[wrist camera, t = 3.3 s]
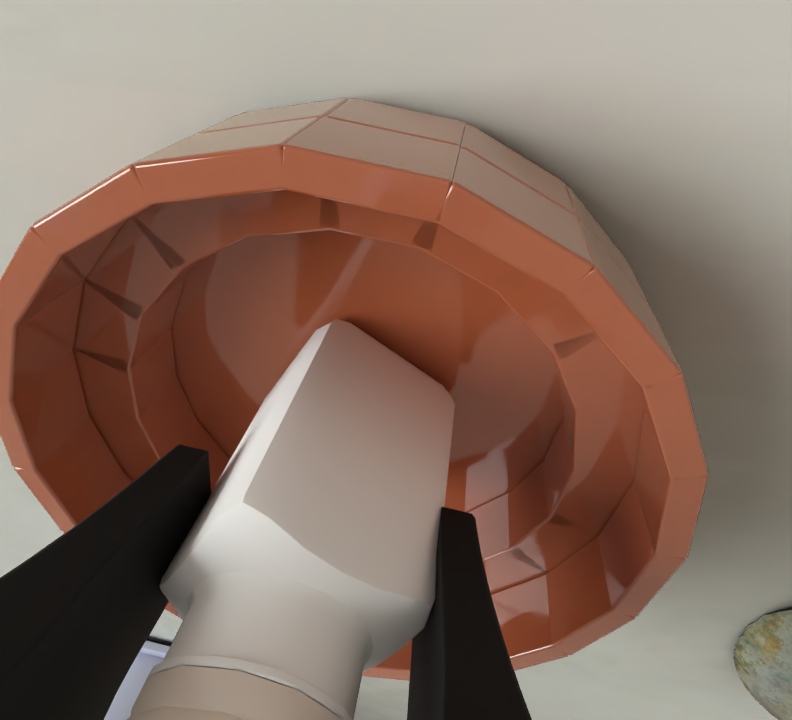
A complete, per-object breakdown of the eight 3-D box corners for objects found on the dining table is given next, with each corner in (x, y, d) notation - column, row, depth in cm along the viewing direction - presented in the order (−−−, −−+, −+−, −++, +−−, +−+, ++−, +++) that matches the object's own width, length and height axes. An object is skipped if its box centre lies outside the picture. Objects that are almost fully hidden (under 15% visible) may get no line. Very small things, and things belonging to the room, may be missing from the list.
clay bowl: (144, 494, 19) (66, 605, 15) (59, 31, 10) (-155, 49, 7) (537, 589, 18) (546, 726, 15) (777, 183, 10) (923, 284, 6)
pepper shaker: (379, 468, 16) (264, 934, 8) (263, 397, 15) (4, 844, 7) (466, 389, 13) (424, 925, 6) (335, 300, 12) (76, 792, 5)
